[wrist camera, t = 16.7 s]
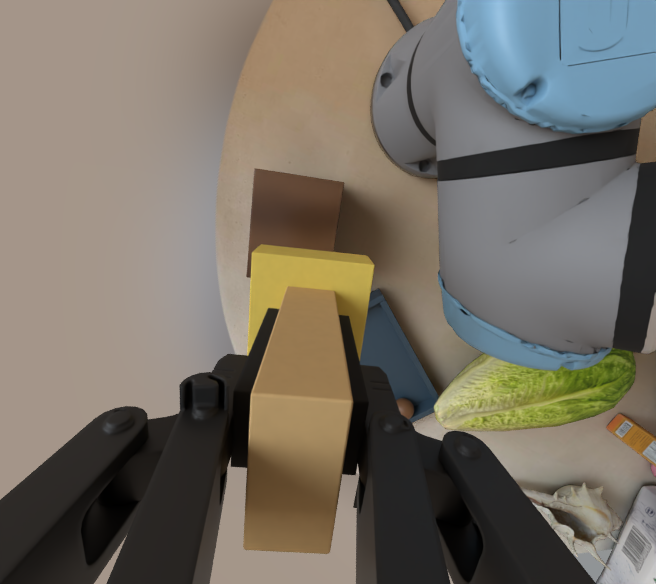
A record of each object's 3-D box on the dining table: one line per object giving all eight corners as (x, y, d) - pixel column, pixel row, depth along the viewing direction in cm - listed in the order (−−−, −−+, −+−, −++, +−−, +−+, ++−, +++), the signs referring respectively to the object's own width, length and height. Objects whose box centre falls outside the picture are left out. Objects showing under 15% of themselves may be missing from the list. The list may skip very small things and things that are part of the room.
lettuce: (413, 377, 40) (467, 484, 36) (609, 288, 37) (695, 395, 32) (416, 377, 51) (457, 459, 47) (567, 309, 48) (626, 391, 44)
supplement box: (634, 418, 51) (708, 472, 41) (619, 434, 51) (687, 490, 42) (619, 410, 50) (690, 463, 40) (603, 426, 51) (669, 482, 41)
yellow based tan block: (349, 379, 20) (385, 594, 9) (254, 371, 20) (176, 586, 9) (367, 255, 18) (442, 350, 7) (260, 244, 18) (167, 325, 7)
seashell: (469, 438, 54) (621, 483, 52) (450, 473, 57) (593, 517, 56) (489, 496, 44) (675, 553, 43) (465, 535, 47) (638, 589, 46)
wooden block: (325, 264, 41) (328, 287, 32) (263, 256, 41) (246, 277, 31) (337, 183, 38) (344, 182, 29) (270, 172, 38) (254, 168, 28)
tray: (312, 324, 44) (311, 332, 41) (378, 288, 43) (382, 294, 40) (377, 425, 49) (380, 437, 47) (438, 396, 48) (444, 407, 46)
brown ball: (399, 427, 45) (396, 416, 48) (419, 419, 45) (415, 409, 48) (390, 409, 45) (388, 399, 48) (410, 400, 44) (406, 391, 47)
